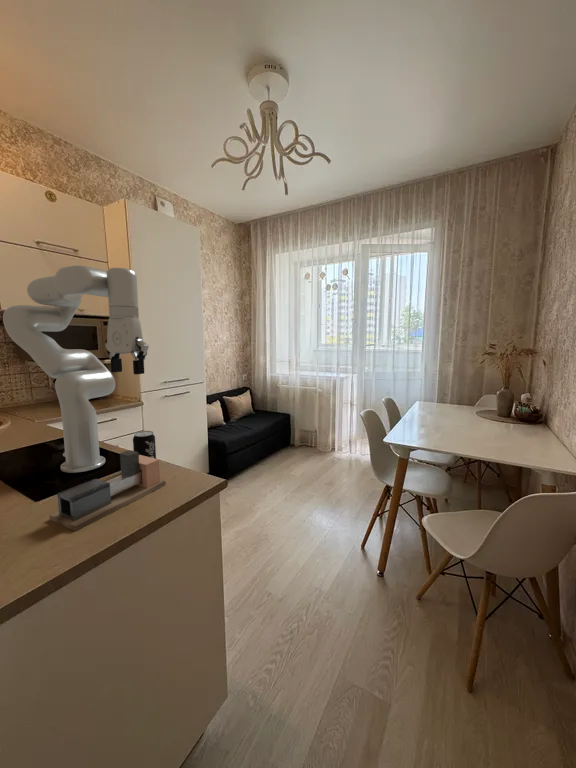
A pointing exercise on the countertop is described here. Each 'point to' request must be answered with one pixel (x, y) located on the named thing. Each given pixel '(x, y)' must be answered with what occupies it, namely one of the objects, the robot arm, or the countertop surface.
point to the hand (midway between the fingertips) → (127, 373)
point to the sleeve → (84, 499)
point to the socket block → (149, 471)
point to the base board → (108, 506)
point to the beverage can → (144, 443)
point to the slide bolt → (126, 473)
